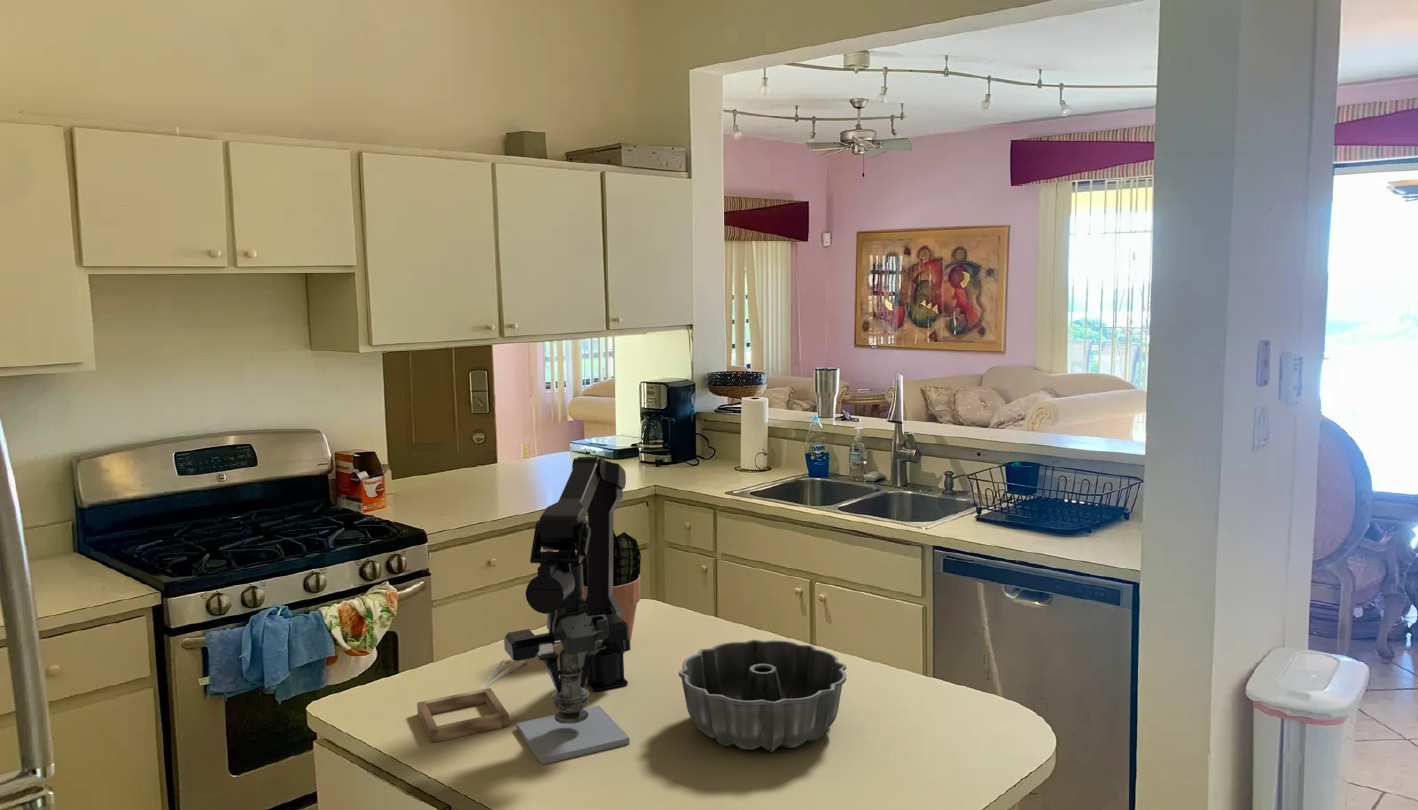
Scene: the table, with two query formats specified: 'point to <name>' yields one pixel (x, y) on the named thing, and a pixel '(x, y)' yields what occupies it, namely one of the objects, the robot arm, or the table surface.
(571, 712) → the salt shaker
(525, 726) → the grey mat
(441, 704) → the frame
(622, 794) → the table surface
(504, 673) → the tweezers
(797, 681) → the bundt pan
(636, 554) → the potted plant
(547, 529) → the robot arm
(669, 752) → the table surface
